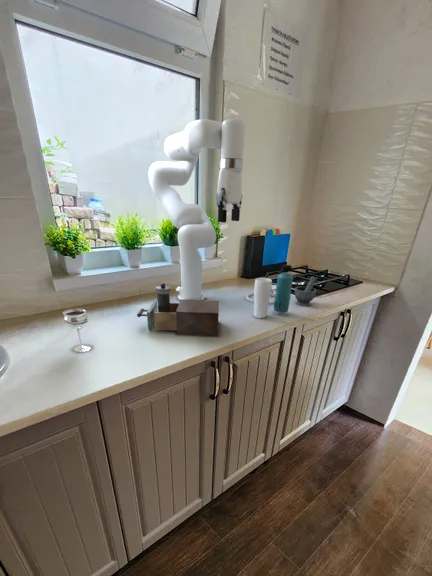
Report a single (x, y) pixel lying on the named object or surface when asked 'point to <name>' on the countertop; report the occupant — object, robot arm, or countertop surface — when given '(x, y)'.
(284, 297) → the beverage bottle
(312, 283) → the mortar and pestle
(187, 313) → the cabinet
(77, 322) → the wineglass
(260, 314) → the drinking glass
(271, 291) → the hand towel holder
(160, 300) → the pepper mill
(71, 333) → the countertop surface
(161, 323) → the drawer
